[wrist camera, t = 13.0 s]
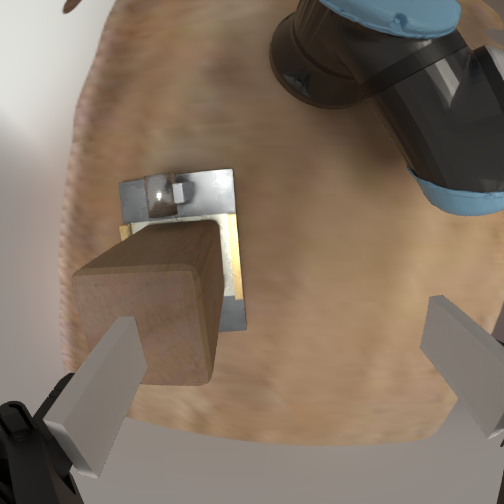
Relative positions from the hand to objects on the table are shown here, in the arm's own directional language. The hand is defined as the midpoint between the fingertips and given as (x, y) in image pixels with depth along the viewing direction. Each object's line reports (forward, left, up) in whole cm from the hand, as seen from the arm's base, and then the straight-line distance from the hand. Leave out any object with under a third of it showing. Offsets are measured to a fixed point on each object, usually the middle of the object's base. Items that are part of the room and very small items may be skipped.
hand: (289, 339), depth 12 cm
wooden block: (+4, -10, -28) cm, 30 cm away
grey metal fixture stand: (+4, -10, -29) cm, 31 cm away
